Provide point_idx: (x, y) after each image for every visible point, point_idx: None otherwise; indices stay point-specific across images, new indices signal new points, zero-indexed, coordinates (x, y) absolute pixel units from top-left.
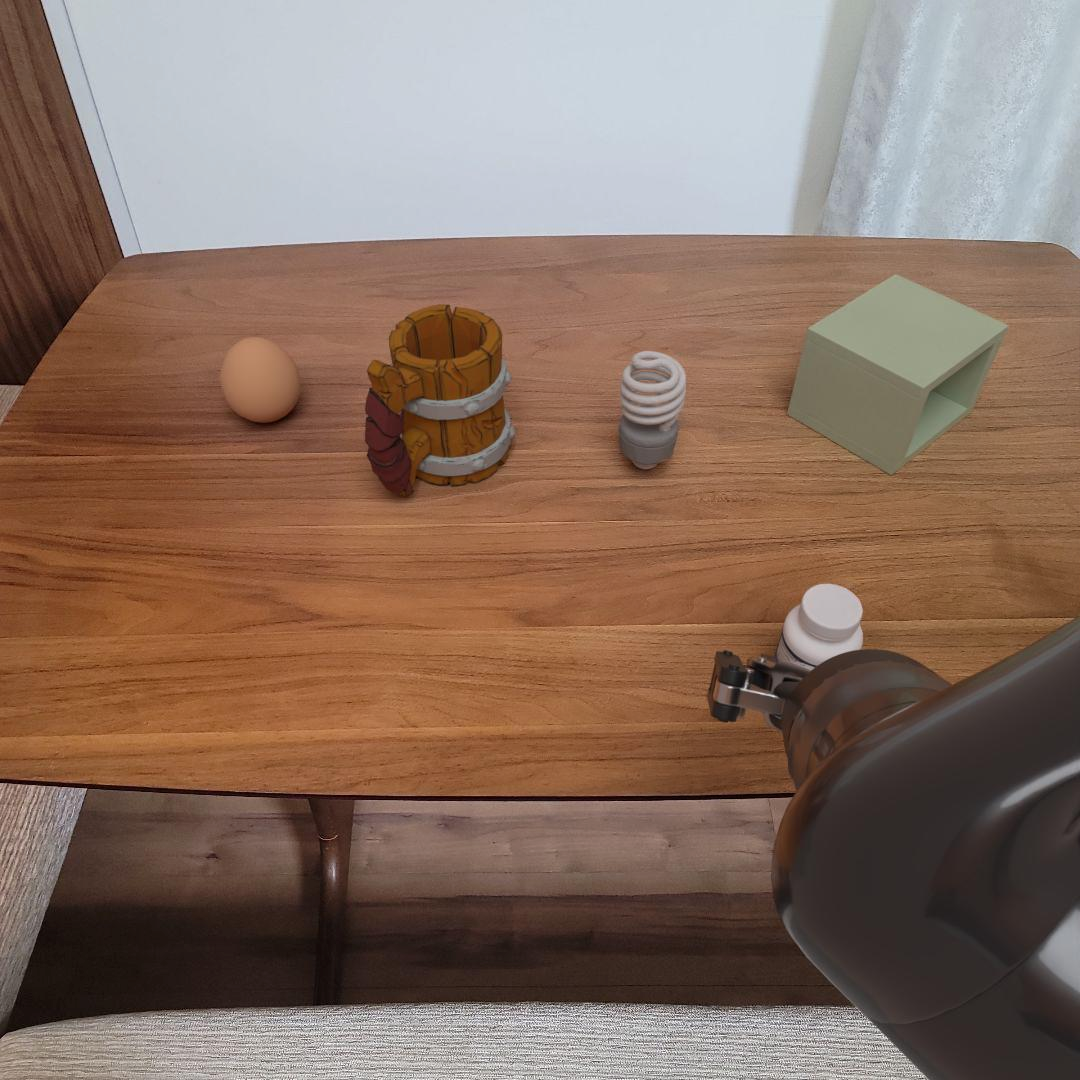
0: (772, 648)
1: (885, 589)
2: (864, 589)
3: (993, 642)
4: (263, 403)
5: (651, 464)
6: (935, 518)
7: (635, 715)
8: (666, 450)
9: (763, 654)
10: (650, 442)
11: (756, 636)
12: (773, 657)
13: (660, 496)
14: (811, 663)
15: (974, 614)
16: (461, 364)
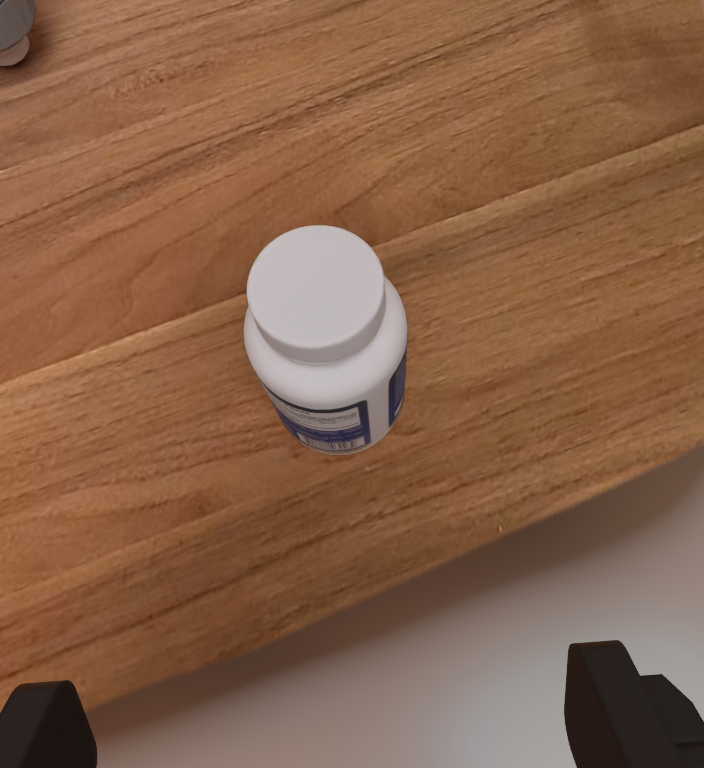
0: None
1: (438, 160)
2: (405, 171)
3: (622, 200)
4: None
5: (13, 53)
6: (490, 7)
7: (61, 556)
8: (8, 17)
9: (4, 718)
10: None
11: None
12: (27, 740)
13: (49, 107)
14: (314, 409)
15: (583, 159)
16: None
